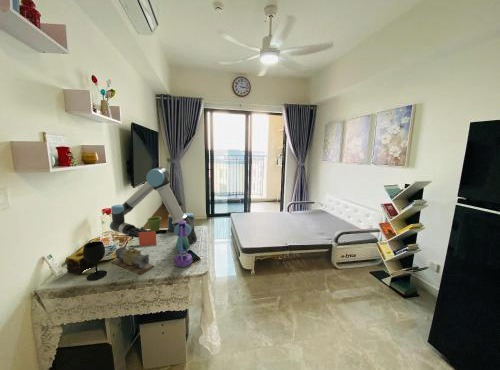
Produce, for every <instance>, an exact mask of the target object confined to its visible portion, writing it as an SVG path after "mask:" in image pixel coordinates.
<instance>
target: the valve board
mask: <svg viewBox="0 0 500 370" xmlns="http://www.w3.org/2000/svg"><path fill="white" fill-rule="evenodd" d="M111 264H113V265H115V266H118V267H120V268H122V269H124V270H127V271H129V272H131V273H134V274H136V275H138V276H142V275H143V274H145V273H147V272H149V270H152V269H154V268H155V265H154V264H151V263H149V264H147V265H146V266H144V267H142V268H140V269H137V268H136V267H135V264H134V265H132V266H131V265H129V264H126V263H124V262H123V263H122V262H120V261H119V258H118V259H117V258H115V259H114V260H112V261H111Z"/></svg>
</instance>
